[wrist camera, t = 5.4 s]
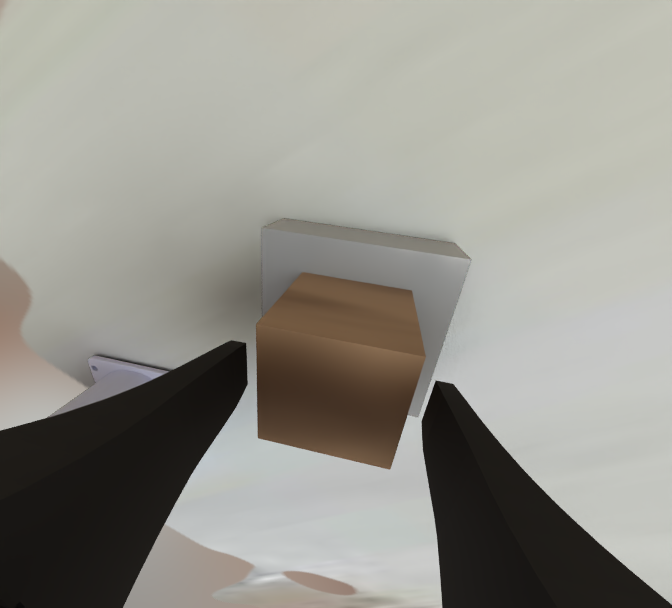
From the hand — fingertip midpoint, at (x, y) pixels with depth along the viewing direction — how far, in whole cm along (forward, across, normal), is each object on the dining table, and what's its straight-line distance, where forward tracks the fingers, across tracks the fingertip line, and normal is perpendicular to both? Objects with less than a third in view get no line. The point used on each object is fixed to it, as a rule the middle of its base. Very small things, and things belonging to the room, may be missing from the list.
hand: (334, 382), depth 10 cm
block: (+4, 0, 0) cm, 4 cm away
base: (+7, 0, 0) cm, 7 cm away
